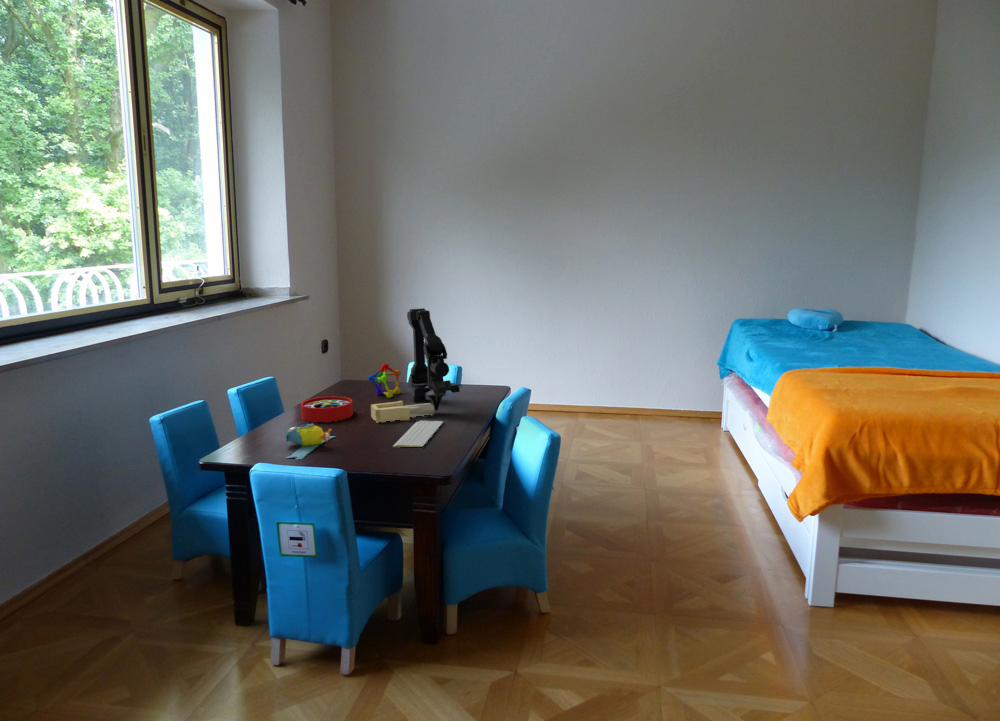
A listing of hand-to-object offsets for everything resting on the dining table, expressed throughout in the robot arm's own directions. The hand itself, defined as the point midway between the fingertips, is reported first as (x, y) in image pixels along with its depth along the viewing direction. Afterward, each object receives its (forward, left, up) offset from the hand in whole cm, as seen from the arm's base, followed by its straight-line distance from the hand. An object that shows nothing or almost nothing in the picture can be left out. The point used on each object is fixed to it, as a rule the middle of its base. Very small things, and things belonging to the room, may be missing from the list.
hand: (436, 410), depth 285 cm
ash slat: (0, -13, -1) cm, 13 cm away
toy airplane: (+25, -53, -2) cm, 58 cm away
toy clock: (-14, -41, -2) cm, 43 cm away
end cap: (0, -19, -1) cm, 19 cm away
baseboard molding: (+26, -15, -2) cm, 30 cm away
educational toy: (-39, -12, -1) cm, 41 cm away
